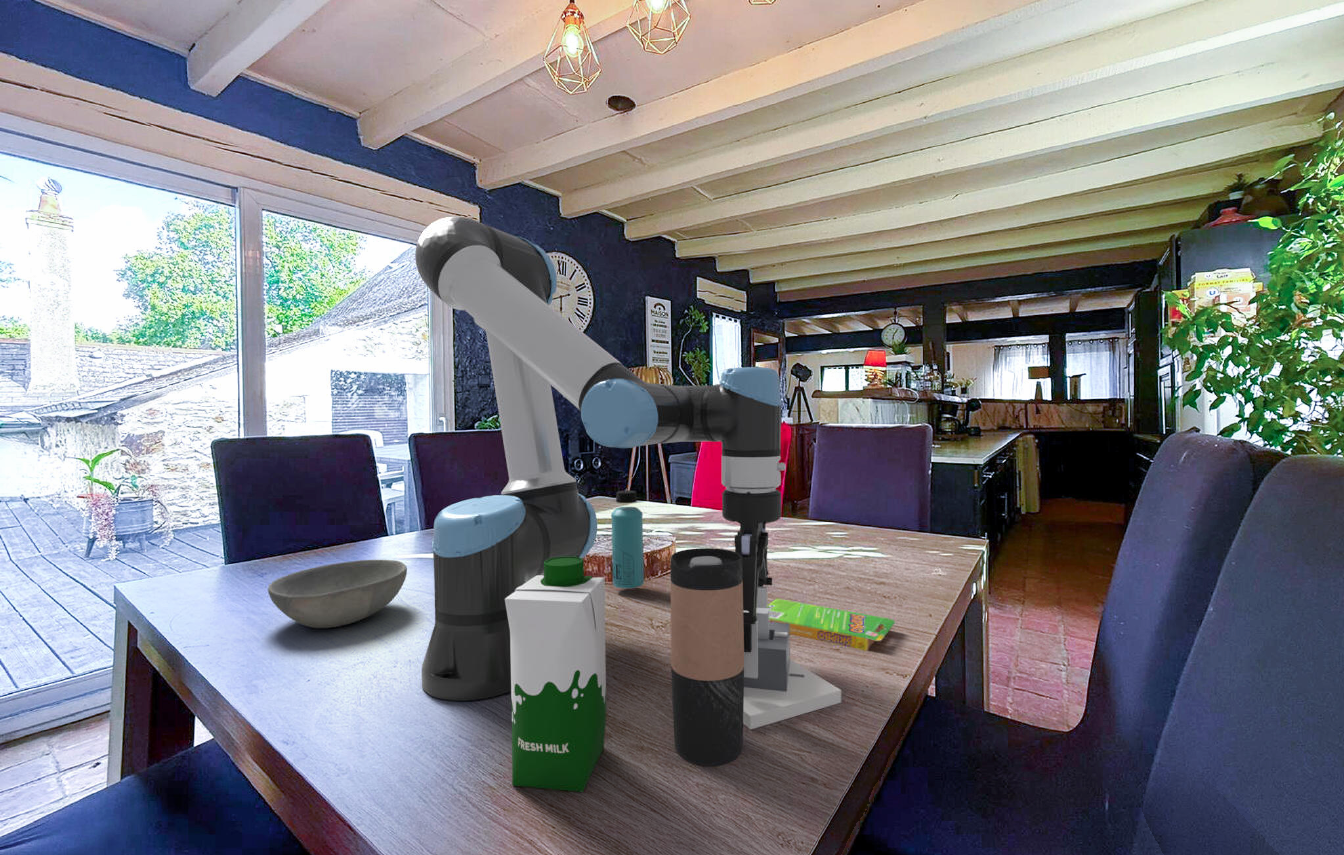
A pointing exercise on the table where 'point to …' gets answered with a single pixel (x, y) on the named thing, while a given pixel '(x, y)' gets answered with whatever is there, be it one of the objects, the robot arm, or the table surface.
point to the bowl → (338, 591)
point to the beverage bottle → (627, 543)
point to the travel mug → (707, 655)
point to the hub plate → (779, 705)
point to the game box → (830, 624)
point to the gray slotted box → (773, 659)
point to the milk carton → (557, 676)
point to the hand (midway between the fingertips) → (752, 652)
